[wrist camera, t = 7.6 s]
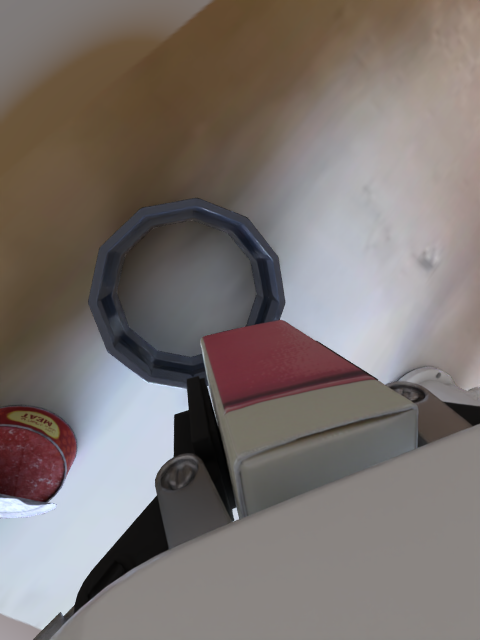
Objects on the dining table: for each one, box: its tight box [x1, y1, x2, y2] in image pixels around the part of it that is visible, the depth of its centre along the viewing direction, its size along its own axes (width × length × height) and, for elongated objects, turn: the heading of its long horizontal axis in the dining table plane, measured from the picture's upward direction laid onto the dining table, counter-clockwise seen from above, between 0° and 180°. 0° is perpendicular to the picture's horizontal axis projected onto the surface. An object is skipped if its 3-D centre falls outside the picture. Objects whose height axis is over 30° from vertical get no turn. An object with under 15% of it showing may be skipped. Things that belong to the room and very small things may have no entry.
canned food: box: [0, 405, 77, 518], centre depth 23 cm, size 11×10×10 cm
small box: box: [201, 320, 419, 519], centre depth 10 cm, size 5×4×8 cm
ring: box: [88, 198, 285, 389], centre depth 24 cm, size 15×15×5 cm
